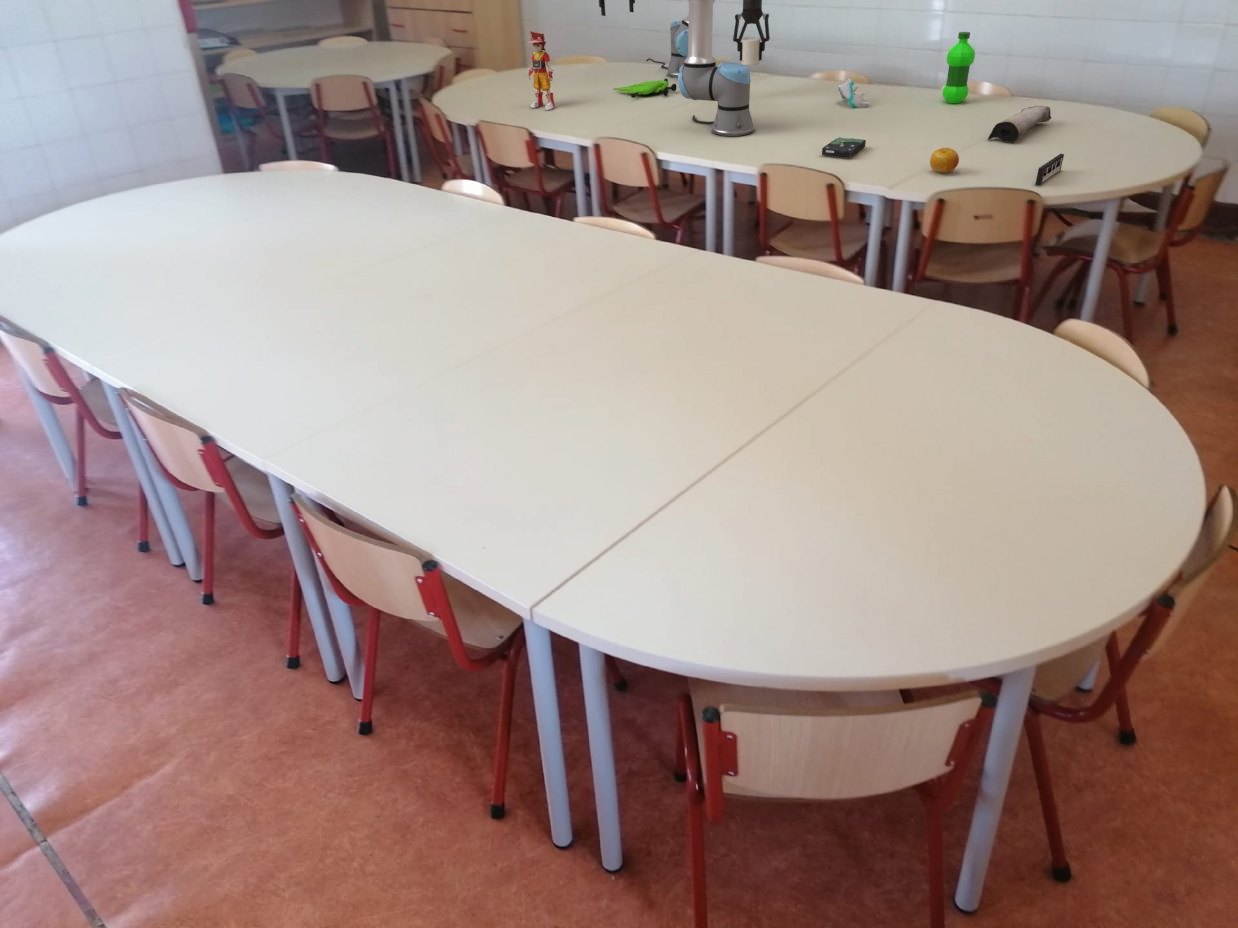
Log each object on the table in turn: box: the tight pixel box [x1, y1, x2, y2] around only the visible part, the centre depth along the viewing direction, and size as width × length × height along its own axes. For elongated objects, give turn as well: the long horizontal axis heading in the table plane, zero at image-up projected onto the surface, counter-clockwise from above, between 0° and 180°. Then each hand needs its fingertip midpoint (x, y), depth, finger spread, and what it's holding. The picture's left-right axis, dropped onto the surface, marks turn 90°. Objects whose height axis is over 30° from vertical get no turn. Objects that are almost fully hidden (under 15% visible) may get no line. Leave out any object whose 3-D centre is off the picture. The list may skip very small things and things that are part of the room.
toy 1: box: [527, 31, 556, 111], centre depth 374 cm, size 12×9×30 cm
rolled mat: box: [987, 105, 1052, 144], centre depth 315 cm, size 30×9×10 cm
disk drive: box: [821, 136, 867, 159], centre depth 307 cm, size 10×3×15 cm
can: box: [741, 36, 761, 66], centre depth 367 cm, size 7×7×9 cm
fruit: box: [929, 147, 960, 174], centre depth 283 cm, size 8×8×8 cm
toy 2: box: [612, 78, 678, 99], centre depth 396 cm, size 28×5×30 cm
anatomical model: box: [837, 78, 871, 108], centre depth 358 cm, size 15×10×10 cm
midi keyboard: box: [1035, 153, 1065, 186], centre depth 273 cm, size 18×1×5 cm, turn 138°
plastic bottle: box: [942, 31, 976, 104], centre depth 348 cm, size 10×10×25 cm
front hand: (750, 60), depth 369 cm, fingers closed on can, 7 cm apart
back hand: (617, 14), depth 394 cm, fingers open, 13 cm apart
